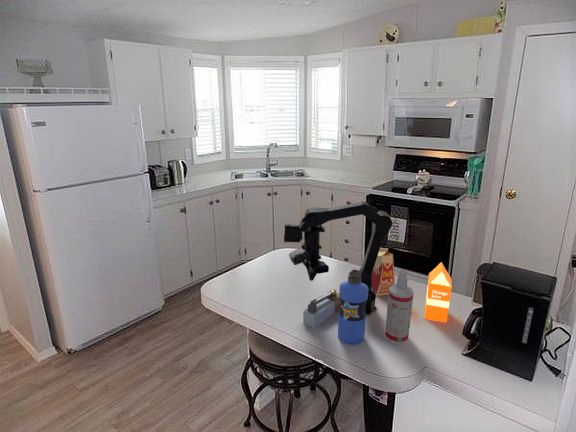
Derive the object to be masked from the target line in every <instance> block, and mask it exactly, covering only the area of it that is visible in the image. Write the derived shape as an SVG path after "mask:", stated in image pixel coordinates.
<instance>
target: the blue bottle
mask: <svg viewBox="0 0 576 432" xmlns="http://www.w3.org/2000/svg"><path fill="white" fill-rule="evenodd" d="M360 275H361V273H360V272H359V270H357V269H352V270H350V271H349V272H348V276H347V281H343V282H341V283H340V285H339V293H338V294H339V296H340V305H341V306H340V310H338V322H337V324H338V325H337V339H338V341H340V342H341V343H342V344H346V345H351V346H355V345H356V346H357V345H360V344H362V343H363V342H364V340H365V334H366V321H367V320H366V319H367V318H366V317H367V314H366V313H365V306H366V302H367V298H368V286H367V285H365V284H364V283H362V282H361V276H360Z"/></svg>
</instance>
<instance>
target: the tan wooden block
mask: <svg viewBox="0 0 576 432" xmlns="http://www.w3.org/2000/svg"><path fill="white" fill-rule="evenodd" d="M328 299H330V300H332V301H335V313H337V312H339V311H340V306H341V305H340V296H339V293H337V292H336V296H331V297H329V298H328ZM335 313H334V314H335Z"/></svg>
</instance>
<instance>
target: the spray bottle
mask: <svg viewBox="0 0 576 432" xmlns="http://www.w3.org/2000/svg"><path fill="white" fill-rule="evenodd" d="M407 275H408V272H407V270H405V269H401V270H399V273H398V278H397V281H396V283H395V285H392V286H390V287H389V294H388V296H387V297H388V299H387V309H386V310H387V311H386V320H385V331H384V337H385V340H387V341H388V342H389V343H392V344H396V345H403V344H404V345H405V344H406V343H407V342H408V341H409V335H410V328H411V319H412V312H413V311H412V309H413V299H414V293H415V292H414V289H413V288H412V287H410V286H409V285H408V278H407V277H408V276H407Z"/></svg>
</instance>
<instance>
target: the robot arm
mask: <svg viewBox="0 0 576 432" xmlns="http://www.w3.org/2000/svg"><path fill="white" fill-rule="evenodd" d="M361 215H362V216H364V217H365V218H367V219H368V220H369V221H370V222H371V223H372V224H371V236H370V239H369V243H368V244H367V248H366V252H365V256H364V257H363V262H362V264H361V267H360V268H359V270H358V271H359V272H360V273H361V275H360V276H361V282H362V283H364V284H365V285H367V286H368V298H367V302H366V306H365V313H366V316H367V315H369V316H370V315H371V314H372V313H373V312H375V310H377V309H378V308H377V306H376V298H377V296H376V293H375V291H374V288H373V285H372V272H373V268H374V265H375V262H376V259H377V256H378V253H379V250H380V248H382V244H383V240H384V238H385V237H386V236H387V235H388V234H389V232H390V230H391V229H392V226H393V220H392V218H391V217H390V215H389V214H388V213H387V212H386V211H384V210H378V208H376V207H374V206H372V205H370V204H368V203H367V202H366V201H359V202H356V203H350V204H344V205H340V206H335V207H328V208H325V207H308V208H307V209H306V210H305V212H304V217H303V218H302V219H301V220H300V222H299V224H295V223H294V224H290V223H285V224H284V232H283V241H284V243H295V244H296V243H300V242H301V241H304V242H303V243H302V244H301V247H299V248H298V247H297V249H295V250H293V251H291V252H289V253H288V257H289V259H290V261H291V263H292V264H293V265H294V266H298V265H300V264H303V265H304V267H305V269H306V271H307V274H308V279H309V281H310V282H313V281H314V279H315V278H316V276H317V274H326V273H329V271H330V266H329V265H328V264H327V263H326V262H325V261H323V260H322V256H321V254H320V250H321V249H322V245H321V244H320V243H321V242H320V241H321V239H320V238H321V233H325V232H326V228H325V227H324V226H323V225H324V224H326V223H328V222H329V221H334V220H339V219H344V218H350V217H351V218H352V217H356V216H361ZM303 238H304V239H303Z"/></svg>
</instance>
